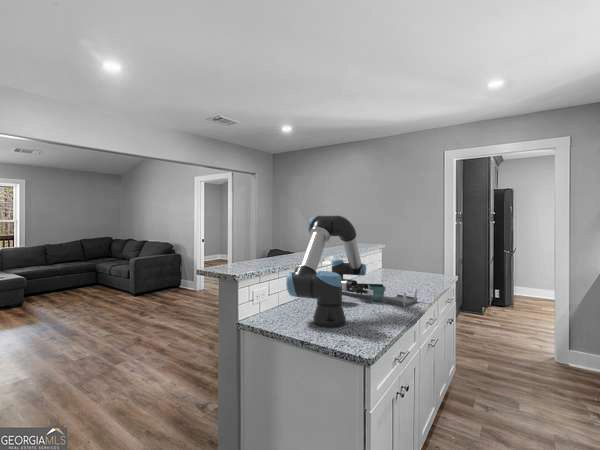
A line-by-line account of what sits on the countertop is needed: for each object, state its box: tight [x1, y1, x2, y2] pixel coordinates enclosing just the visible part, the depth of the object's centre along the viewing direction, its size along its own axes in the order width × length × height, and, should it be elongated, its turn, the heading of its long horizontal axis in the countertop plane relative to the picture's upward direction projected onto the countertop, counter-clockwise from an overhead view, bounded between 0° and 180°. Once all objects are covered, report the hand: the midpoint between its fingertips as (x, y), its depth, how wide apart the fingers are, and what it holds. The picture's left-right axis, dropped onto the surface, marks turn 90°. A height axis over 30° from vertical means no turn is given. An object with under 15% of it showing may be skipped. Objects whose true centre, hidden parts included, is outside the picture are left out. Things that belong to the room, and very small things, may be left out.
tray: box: [385, 288, 418, 307], centre depth 186 cm, size 15×12×8 cm
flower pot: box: [367, 283, 386, 302], centre depth 191 cm, size 9×9×9 cm
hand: (379, 290), depth 190 cm, fingers open, 13 cm apart
